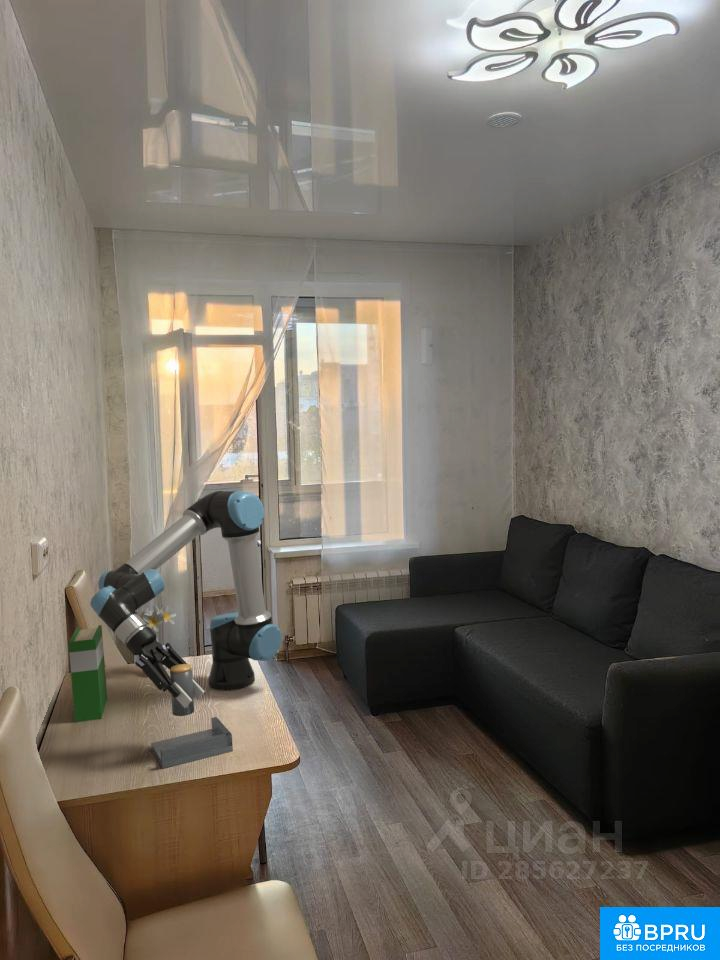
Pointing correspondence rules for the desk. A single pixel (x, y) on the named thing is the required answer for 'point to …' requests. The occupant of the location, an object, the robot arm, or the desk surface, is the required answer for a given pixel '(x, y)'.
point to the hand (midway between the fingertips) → (194, 699)
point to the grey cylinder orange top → (185, 681)
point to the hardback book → (88, 674)
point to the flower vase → (157, 618)
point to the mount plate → (194, 745)
